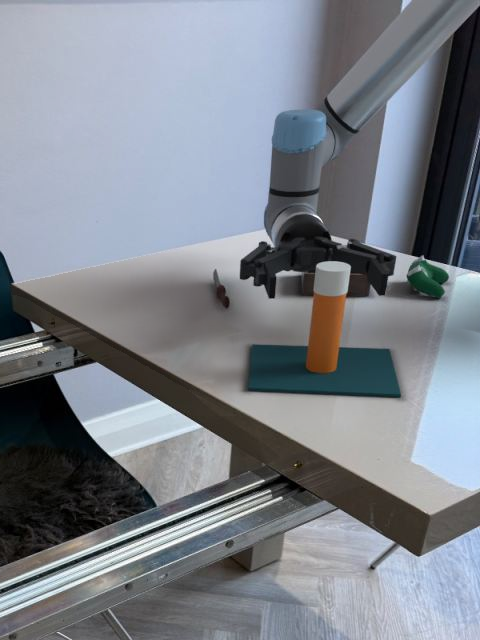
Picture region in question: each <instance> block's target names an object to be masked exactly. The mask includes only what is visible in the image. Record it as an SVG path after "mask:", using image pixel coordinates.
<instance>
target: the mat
mask: <svg viewBox="0 0 480 640" xmlns="http://www.w3.org/2000/svg"><path fill="white" fill-rule="evenodd" d="M307 351H308V345H285V344H284V345H283V344H256V343H253V344H252V347H251V355H250V356H251V357H250V365H249V367H250V368H249V376H248V384H247V385H248V386H247V391H251V392H274V393H291V394H292V393H293V394H295V393H296V394H314V395H315V394H319V395H338V396H339V395H340V396H342V395H343V396H360V397H365V396H366V397H386V398H401V397H402V393H401V389H400V385H399V382H398V381H399V380H398V378H397V377H398V376H397V373H396V369H395V366H394V361H393V358H392V355H391V350H390V348H379V347H377V348H376V347H375V348H374V347H349V346H348V347H345V346H344V347H343V346H339V352H338V359H337V367H336V370H335V371H333V372H330V373H315V372H312V371H309V370H308V369H307V368H306V360H307Z"/></svg>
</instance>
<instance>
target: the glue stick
mask: <svg viewBox="0 0 480 640" xmlns="http://www.w3.org/2000/svg"><path fill="white" fill-rule="evenodd" d="M350 270H351V266H350V265H349V264H347V263H343V262H337V261H328V262H321V263H319V264H317V265H316V272H315V281H314V295H313V298H312V299H313V300H312V306H311V307H312V308H311V316H310V324H309V325H310V326H309V334H308V343H307V346H308V351H307V360H306V368H307V369H308V370H309V371H312V372H315V373H330V372H333V371H335V370H336V367H337V359H338V352H339V347H340V344H341V337H342V330H343V322H344V313H345V307H346V300H347V296H346V293H347V292H348V284H349V277H350Z"/></svg>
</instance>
